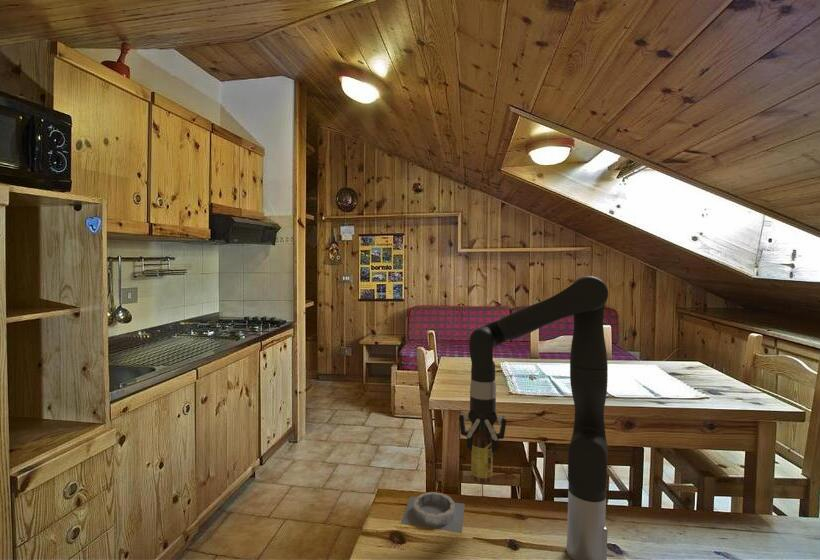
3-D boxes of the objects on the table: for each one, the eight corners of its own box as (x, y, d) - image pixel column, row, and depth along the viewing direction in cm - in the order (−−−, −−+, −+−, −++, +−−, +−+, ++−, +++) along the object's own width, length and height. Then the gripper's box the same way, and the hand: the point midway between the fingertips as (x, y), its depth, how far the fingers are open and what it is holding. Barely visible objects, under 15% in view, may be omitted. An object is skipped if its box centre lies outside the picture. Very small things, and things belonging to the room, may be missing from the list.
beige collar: (456, 504, 125) (456, 494, 125) (452, 529, 113) (452, 519, 113) (417, 499, 128) (418, 489, 128) (410, 523, 116) (410, 513, 116)
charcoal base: (464, 507, 126) (464, 503, 126) (461, 536, 112) (461, 532, 112) (409, 500, 129) (410, 496, 129) (400, 527, 115) (400, 523, 115)
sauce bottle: (492, 486, 112) (493, 417, 112) (470, 483, 114) (471, 415, 113) (492, 474, 119) (493, 409, 118) (471, 472, 120) (472, 408, 120)
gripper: (507, 392, 118) (506, 447, 118) (459, 389, 121) (458, 442, 121) (508, 400, 111) (507, 458, 111) (457, 396, 114) (456, 453, 114)
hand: (482, 450), depth 116 cm, fingers closed on sauce bottle, 6 cm apart
